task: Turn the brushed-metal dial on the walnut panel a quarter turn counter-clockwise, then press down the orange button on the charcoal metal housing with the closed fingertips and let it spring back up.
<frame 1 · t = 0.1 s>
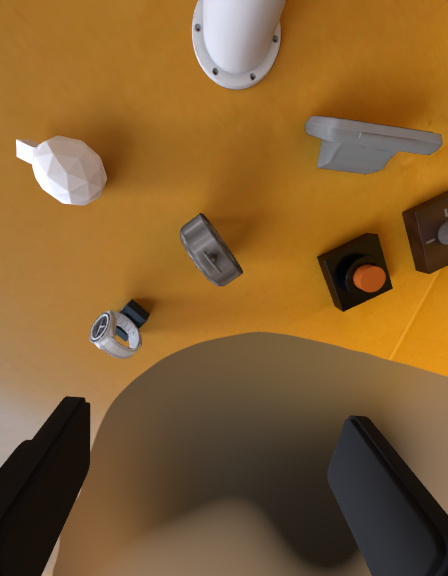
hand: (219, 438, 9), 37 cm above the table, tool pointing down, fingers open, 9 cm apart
digital clock: (346, 144, 41), on the table
alarm clock: (209, 246, 44), on the table
white faceted rounded piece: (78, 169, 39), on the table
dial panel: (434, 230, 46), on the table
button box: (350, 271, 47), on the table
start button: (368, 278, 42), point 6 cm above the table, slide at 0.1 cm
watch: (130, 316, 47), on the table
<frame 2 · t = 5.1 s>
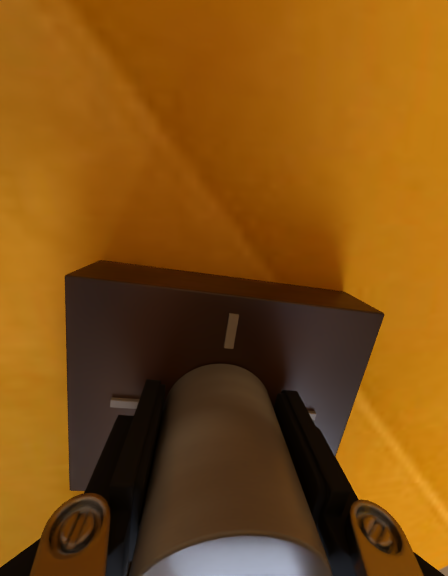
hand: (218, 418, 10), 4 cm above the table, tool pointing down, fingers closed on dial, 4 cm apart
dial panel: (214, 366, 13), on the table
dial: (222, 479, 8), point 6 cm above the table, hinge at -0.1°, touching gripper
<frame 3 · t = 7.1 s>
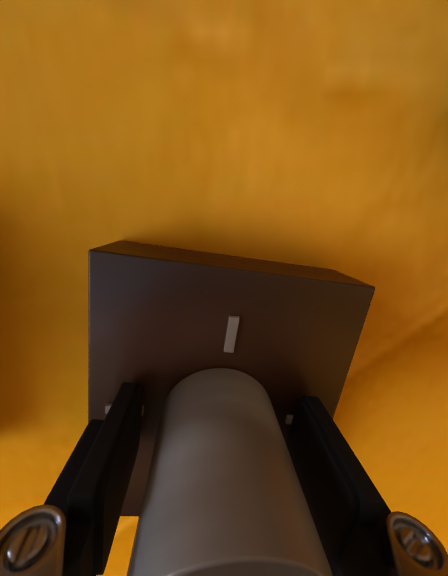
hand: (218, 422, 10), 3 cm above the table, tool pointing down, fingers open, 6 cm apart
dial panel: (214, 369, 13), on the table
dial: (222, 491, 7), point 6 cm above the table, hinge at 92.6°
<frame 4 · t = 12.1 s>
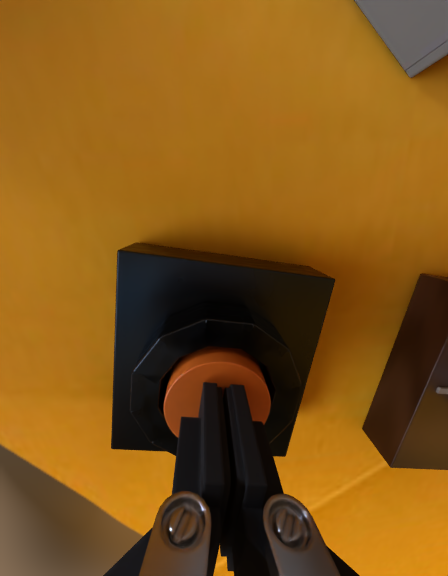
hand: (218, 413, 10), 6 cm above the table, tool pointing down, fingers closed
button box: (213, 341, 15), on the table
start button: (216, 391, 11), point 5 cm above the table, slide at -1.0 cm, touching gripper
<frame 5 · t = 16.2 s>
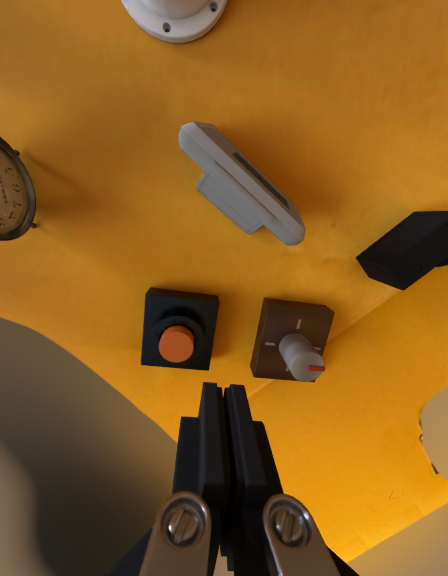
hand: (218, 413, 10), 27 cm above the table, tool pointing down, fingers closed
digital clock: (241, 187, 33), on the table
alarm clock: (19, 192, 32), on the table
dial panel: (286, 336, 40), on the table
button box: (180, 325, 38), on the table
start button: (177, 343, 33), point 6 cm above the table, slide at 0.1 cm
digital camera: (391, 249, 38), on the table
dial: (300, 356, 34), point 6 cm above the table, hinge at 92.6°
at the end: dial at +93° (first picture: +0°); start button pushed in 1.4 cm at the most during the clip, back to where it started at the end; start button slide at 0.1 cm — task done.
